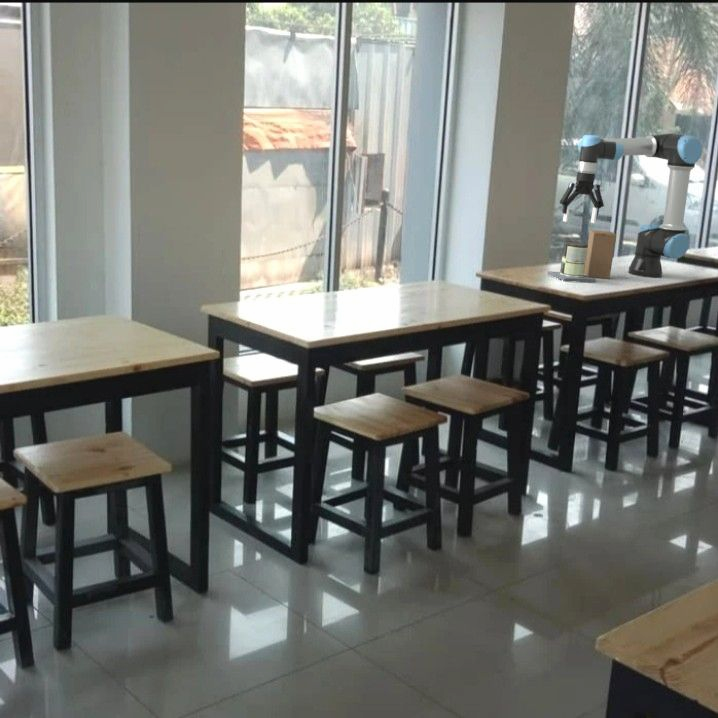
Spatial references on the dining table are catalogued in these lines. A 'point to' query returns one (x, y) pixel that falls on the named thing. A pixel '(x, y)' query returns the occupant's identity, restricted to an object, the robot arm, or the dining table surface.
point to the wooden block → (599, 254)
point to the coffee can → (573, 259)
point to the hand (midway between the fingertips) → (579, 222)
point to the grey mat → (566, 278)
